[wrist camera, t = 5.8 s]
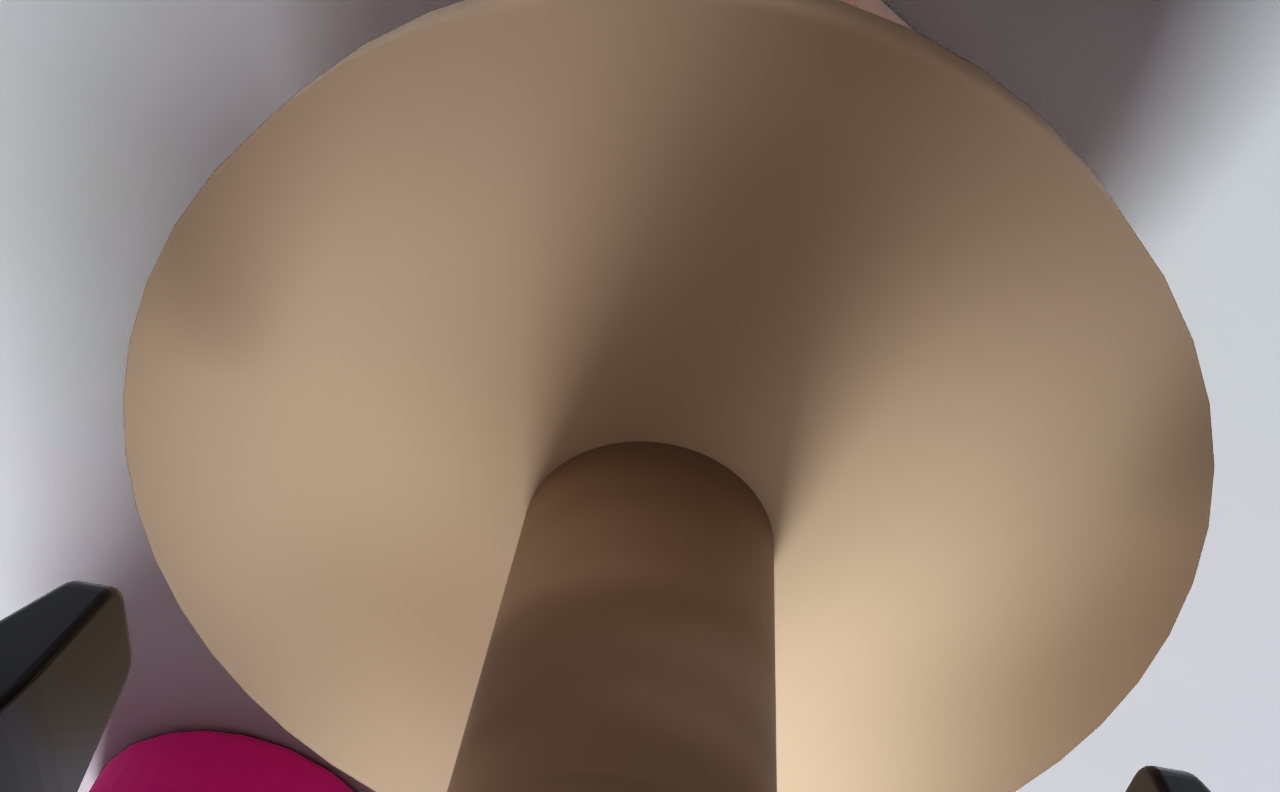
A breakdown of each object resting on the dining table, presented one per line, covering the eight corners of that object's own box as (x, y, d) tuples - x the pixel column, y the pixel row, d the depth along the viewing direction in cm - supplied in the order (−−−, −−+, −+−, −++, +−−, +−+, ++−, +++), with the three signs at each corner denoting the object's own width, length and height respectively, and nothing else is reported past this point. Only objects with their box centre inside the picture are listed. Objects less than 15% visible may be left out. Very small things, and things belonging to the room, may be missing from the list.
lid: (1391, 89, 10) (1878, 404, 5) (988, 868, 16) (1072, 1310, 11) (115, -133, 10) (-388, 12, 5) (200, 732, 16) (-8, 1124, 11)
